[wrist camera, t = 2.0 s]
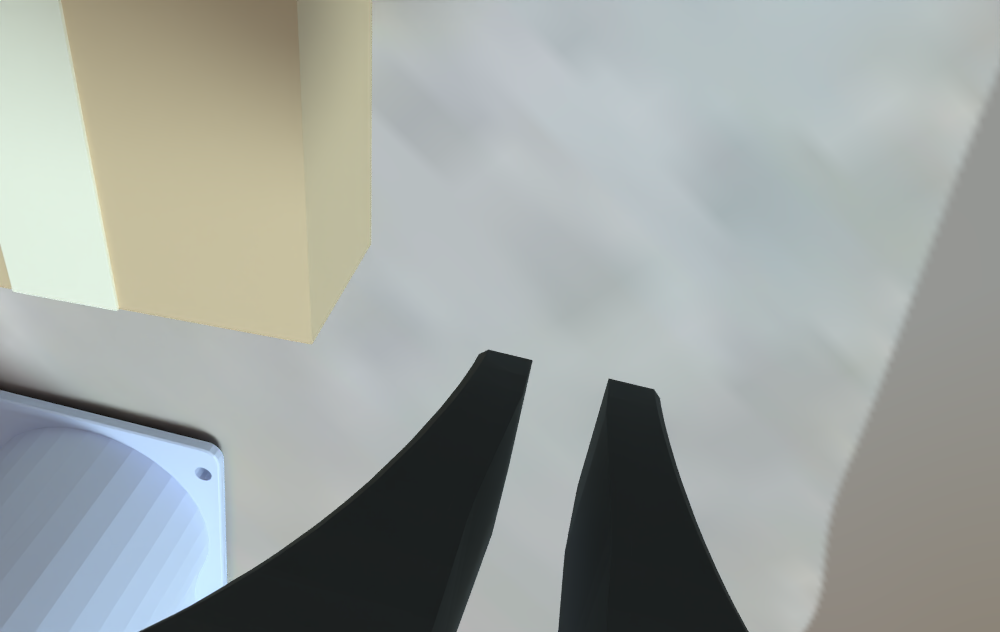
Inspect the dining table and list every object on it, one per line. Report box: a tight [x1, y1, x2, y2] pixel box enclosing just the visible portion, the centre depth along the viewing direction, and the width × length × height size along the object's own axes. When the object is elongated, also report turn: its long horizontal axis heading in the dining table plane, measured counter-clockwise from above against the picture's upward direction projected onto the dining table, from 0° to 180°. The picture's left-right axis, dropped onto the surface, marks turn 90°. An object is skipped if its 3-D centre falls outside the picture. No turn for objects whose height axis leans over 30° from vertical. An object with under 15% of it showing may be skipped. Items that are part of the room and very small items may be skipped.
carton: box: [0, 0, 372, 344], centre depth 20 cm, size 9×11×5 cm
